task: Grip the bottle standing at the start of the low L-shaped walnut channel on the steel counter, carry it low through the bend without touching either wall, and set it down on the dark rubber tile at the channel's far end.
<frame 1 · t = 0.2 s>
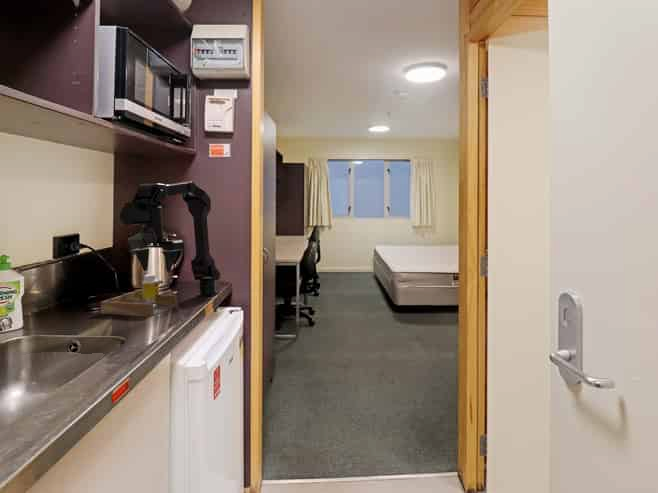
hand: (156, 271, 124), 14 cm above the worktop, tool pointing down, fingers open, 9 cm apart
channel: (131, 309, 133), on the worktop
end tile: (156, 310, 130), on the worktop
supplement bottle: (152, 302, 142), on the worktop
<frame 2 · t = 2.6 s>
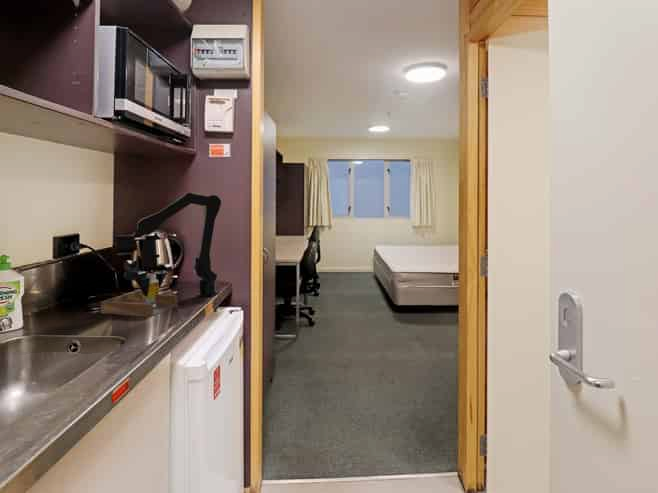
hand: (151, 294, 142), 3 cm above the worktop, tool pointing down, fingers closed on supplement bottle, 5 cm apart
supplement bottle: (152, 302, 142), on the worktop, touching gripper
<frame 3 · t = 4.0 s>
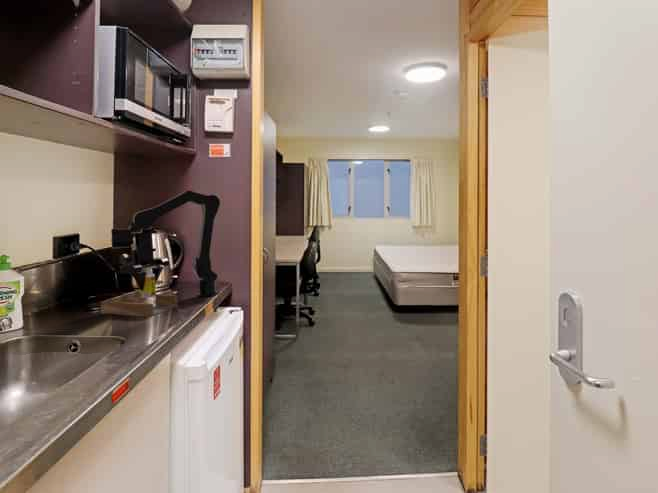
hand: (147, 288, 140), 6 cm above the worktop, tool pointing down, fingers closed on supplement bottle, 5 cm apart
supplement bottle: (148, 297, 141), point 2 cm above the worktop, touching gripper
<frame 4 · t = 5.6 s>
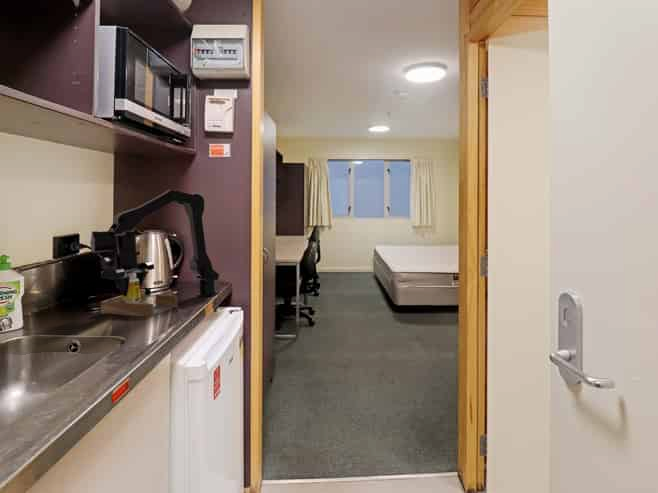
hand: (131, 294, 132), 5 cm above the worktop, tool pointing down, fingers closed on supplement bottle, 5 cm apart
supplement bottle: (132, 303, 133), point 2 cm above the worktop, touching gripper
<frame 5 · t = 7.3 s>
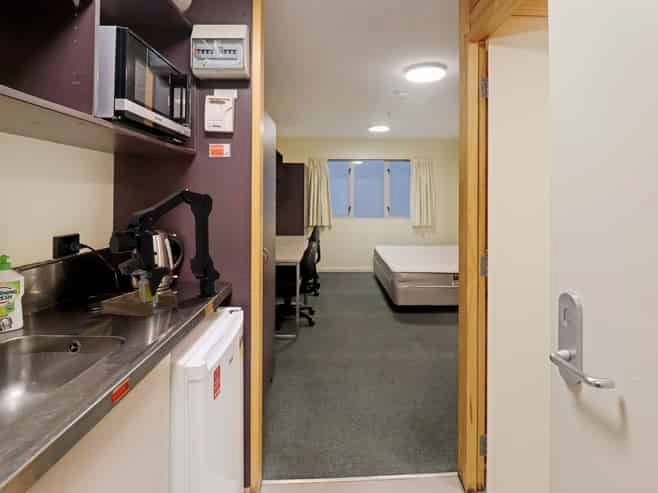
hand: (148, 294, 130), 5 cm above the worktop, tool pointing down, fingers closed on supplement bottle, 5 cm apart
supplement bottle: (149, 304, 131), point 2 cm above the worktop, touching gripper
when the fingers open (4 cm above the worktop, at t = 8.7 s): supplement bottle drops 1 cm, resting on end tile.
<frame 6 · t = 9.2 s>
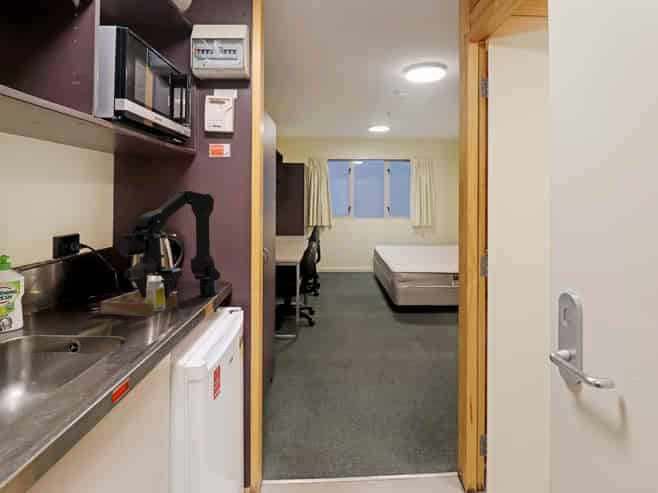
hand: (155, 298, 130), 4 cm above the worktop, tool pointing down, fingers open, 9 cm apart
supplement bottle: (156, 310, 130), resting on end tile
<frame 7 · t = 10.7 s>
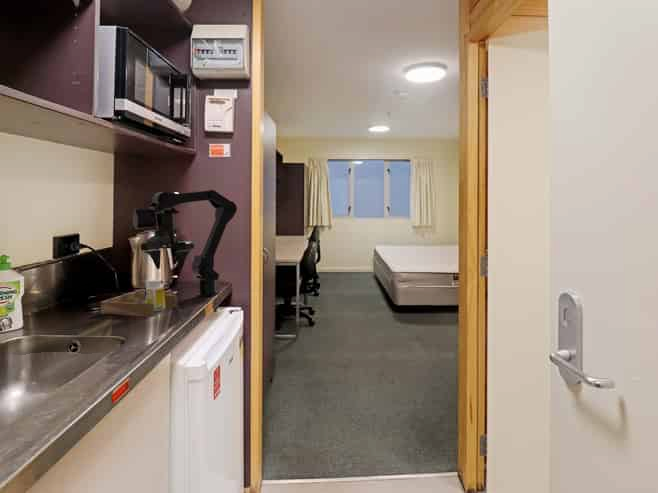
hand: (169, 269, 141), 12 cm above the worktop, tool pointing down, fingers open, 9 cm apart
nothing on the worktop moved.
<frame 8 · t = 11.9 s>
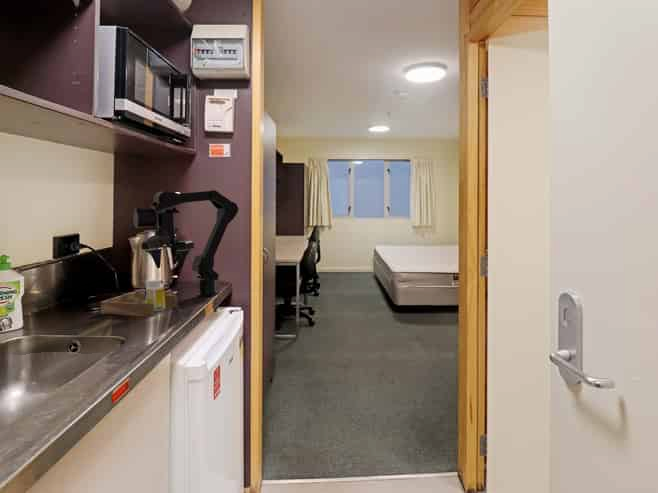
hand: (169, 268, 141), 13 cm above the worktop, tool pointing down, fingers open, 9 cm apart
nothing on the worktop moved.
at the end: supplement bottle inside the target area on the end tile (0.1 cm from its centre), point 0.0 cm above the end tile's base; supplement bottle tilted 0°; supplement bottle touching end tile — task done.
